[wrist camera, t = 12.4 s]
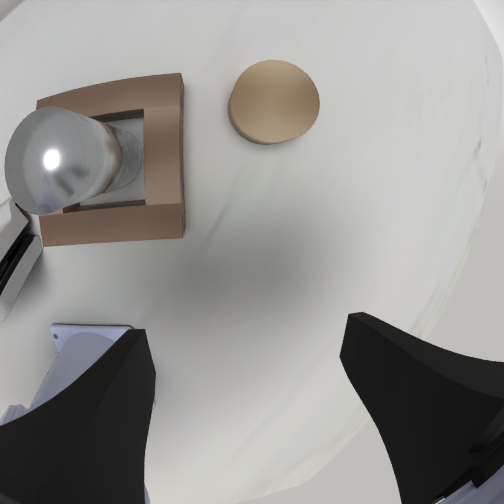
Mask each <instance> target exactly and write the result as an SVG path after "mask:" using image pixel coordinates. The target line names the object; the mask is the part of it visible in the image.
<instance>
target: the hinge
mask: <svg viewBox="0 0 504 504" xmlns="http://www.w3.org/2000/svg"><path fill="white" fill-rule="evenodd" d="M15 203H16V202H15V201H14V199H13V198H12V196H11V197H10V198H8V199H7V200H6V201H4V202H3V203H2V204H1V205H0V323H1V322H2V321H4V319H5V318H6V317H7V316H8V314H9V313H10V311H11V309H12V306H13V304H14V302H15V300H16V298H17V296H18V294H19V292H20V290H21V288H22V286H23V284H24V282H25V280H26V278H27V276H28V274H29V273H30V271H31V269H32V267H33V265H34V264H35V262H36V260H37V258H38V257H39V255H40V253H41V252H42V250H43V248H42V244H41V241H40V239H39V237H38V235H37V236H35V237H32V235H29V236H28V237H26V238H24V239H23V240H21V239H22V237H23V236H24V234H25V233H26V232H27V230H28V229H27V227H26V224H27V223H28V222H29V221H28V220H27V219H26V218H25V216H24V215H23V214H22V213H21V211H20V210H19V209H18V208H17V206H16V205H15ZM20 240H21V241H20ZM19 241H20V242H19Z"/></svg>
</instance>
